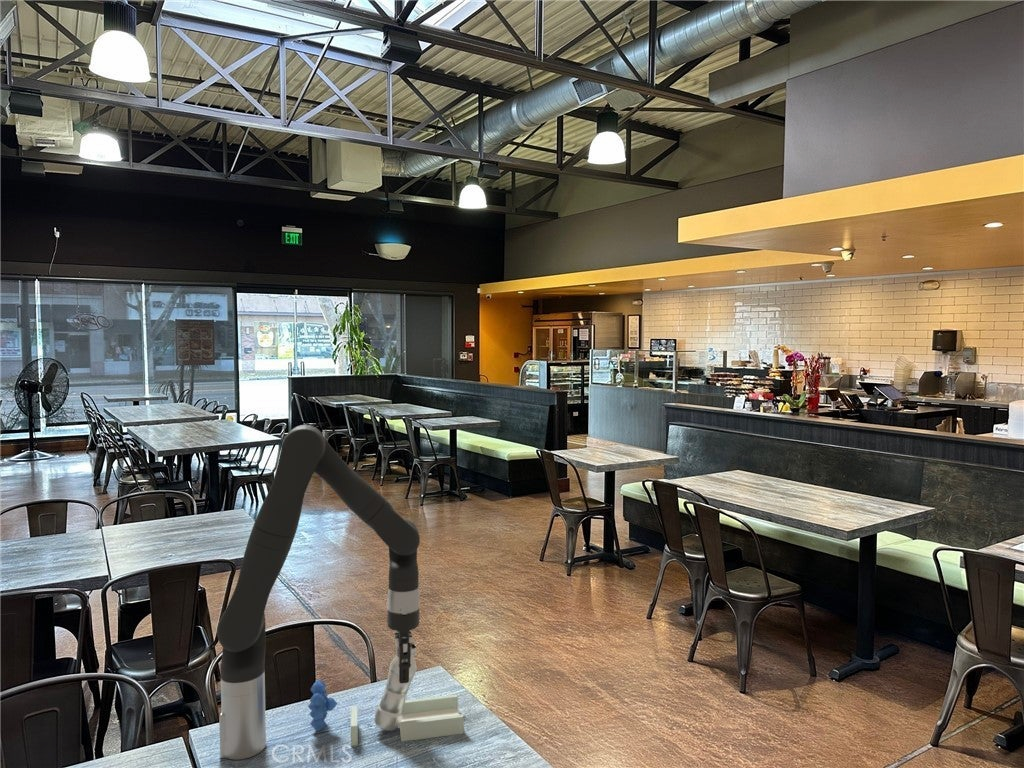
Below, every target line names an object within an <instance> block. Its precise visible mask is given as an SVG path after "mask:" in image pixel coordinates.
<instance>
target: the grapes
mask: <svg viewBox="0 0 1024 768" xmlns="http://www.w3.org/2000/svg"><path fill="white" fill-rule="evenodd" d="M326 687H327V685H326V683H325V682H324V681H323V680H322V679H317V680H316V681H315V682H314V683H313V685H312V686H311V688H310V691H311V693H312V694H313V695H312V696H311V697H310V699H309V702H310V703H309V704H308V706H307V707H308V709H309V710H310V712H309V715H310V717H311V718H312V720H311V722H310V726H311V727H312V728H313V729H314V730H315V731H316V732H320V731H322V730H323V728H324V727H325V726H326V724H327V722H326V721H325V720H326V718H327V717H328V711H329V712H331V711H333V710H334V709H335V708H336V706H337V705H338V702H337V701H336V700H335V699H334V698H333V697H328V694H327V692H328V691H327V689H326Z"/></svg>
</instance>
